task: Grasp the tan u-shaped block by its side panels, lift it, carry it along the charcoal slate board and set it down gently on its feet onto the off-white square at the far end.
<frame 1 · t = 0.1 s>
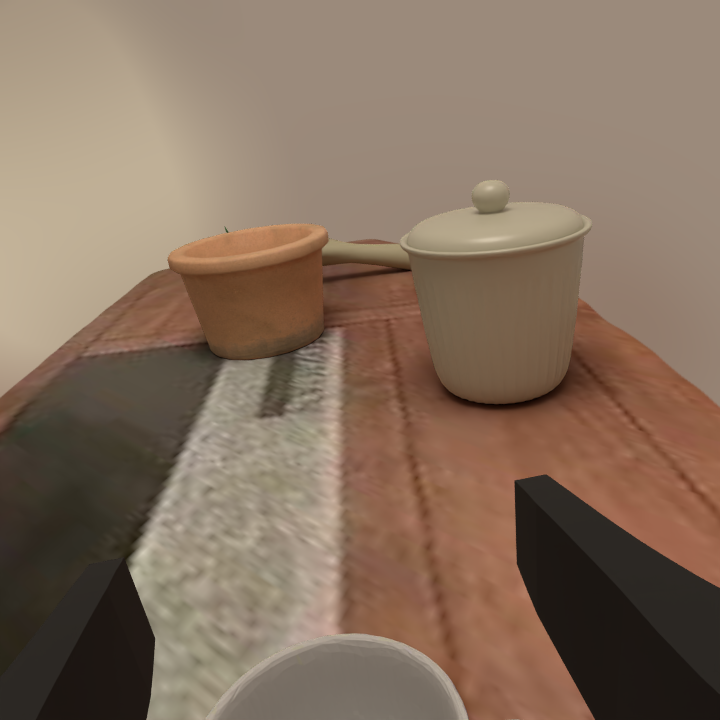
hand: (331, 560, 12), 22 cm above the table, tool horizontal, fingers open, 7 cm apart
pottery: (268, 339, 92), on the table
canister: (502, 385, 67), on the table
flower vase: (322, 284, 117), on the table
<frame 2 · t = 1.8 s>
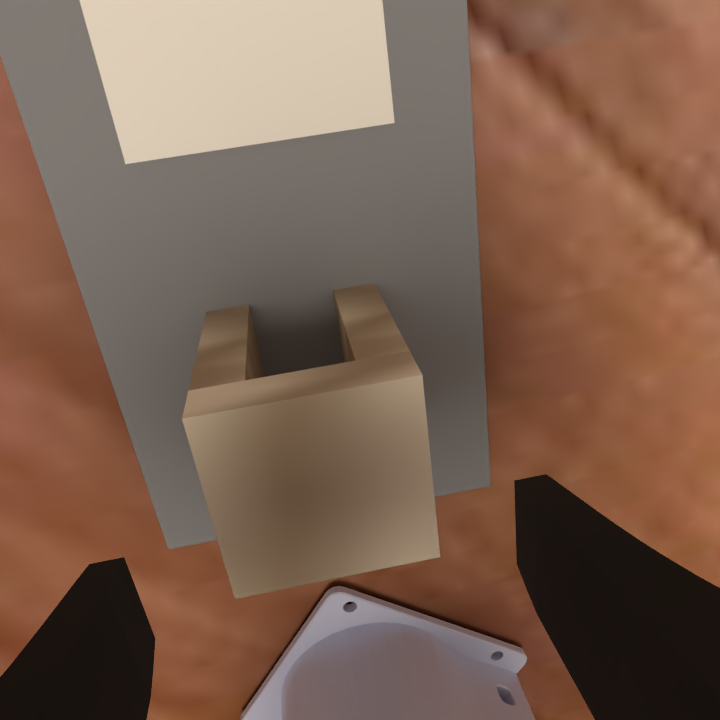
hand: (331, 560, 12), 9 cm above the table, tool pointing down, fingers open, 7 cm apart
board: (276, 216, 18), on the table
tan u-shaped block: (305, 372, 19), point 1 cm above the table, touching board
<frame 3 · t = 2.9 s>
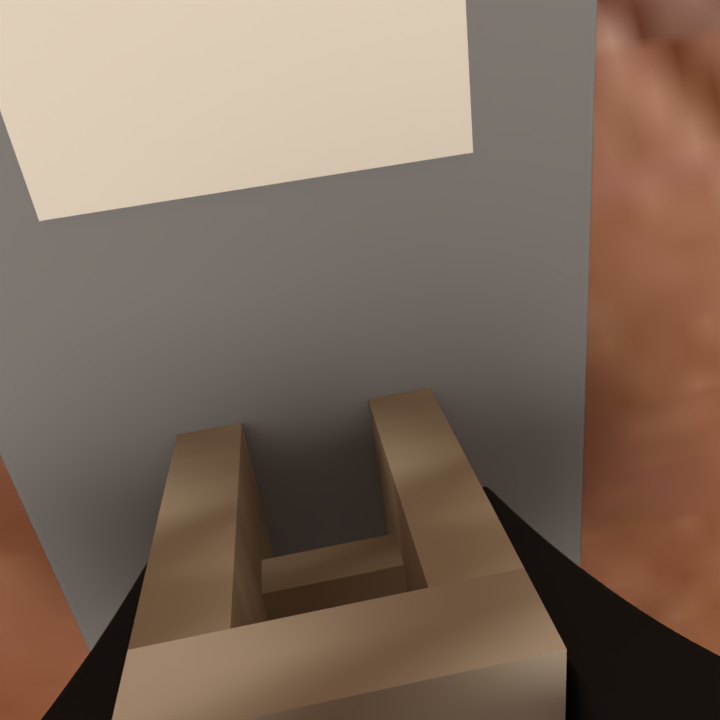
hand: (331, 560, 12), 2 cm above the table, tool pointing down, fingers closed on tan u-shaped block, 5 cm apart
board: (283, 288, 12), on the table
tan u-shaped block: (324, 511, 13), point 1 cm above the table, touching board, gripper
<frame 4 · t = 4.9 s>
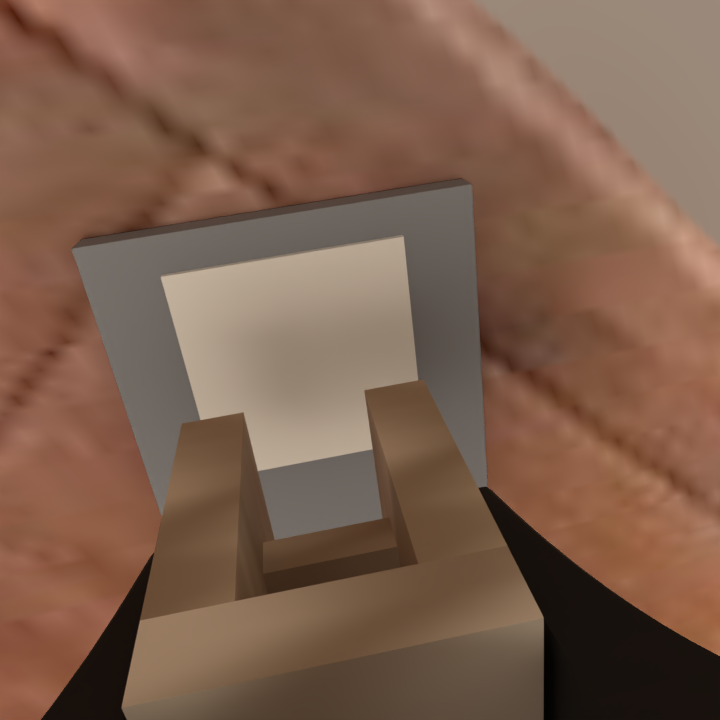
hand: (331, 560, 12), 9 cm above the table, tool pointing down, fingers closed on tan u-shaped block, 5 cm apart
board: (328, 488, 22), on the table
tan u-shaped block: (322, 497, 14), point 7 cm above the table, touching gripper
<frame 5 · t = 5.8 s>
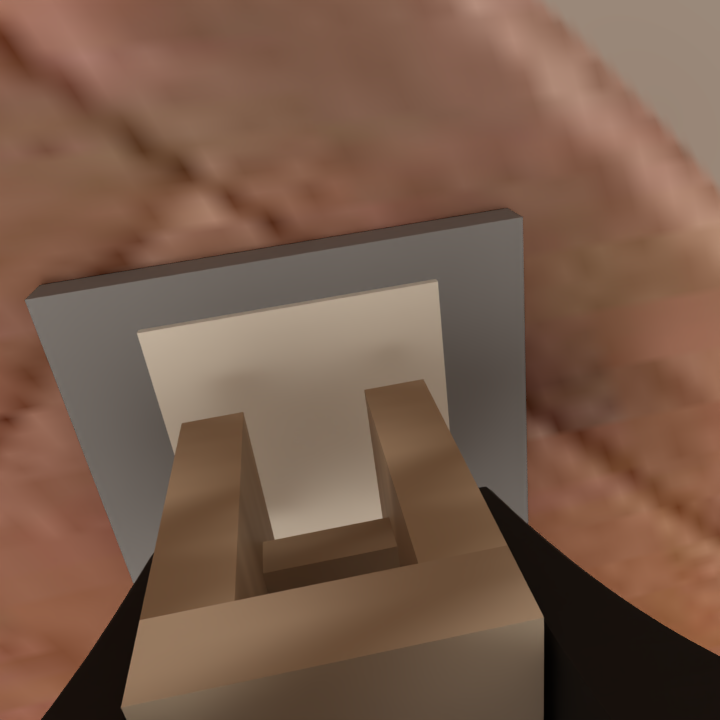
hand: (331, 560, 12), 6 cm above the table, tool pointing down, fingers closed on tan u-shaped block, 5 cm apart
board: (340, 567, 19), on the table
tan u-shaped block: (322, 497, 14), point 4 cm above the table, touching gripper
when the fingers open (4 cm above the table, at t = 6.8 s): tan u-shaped block stays where it is, resting on board.
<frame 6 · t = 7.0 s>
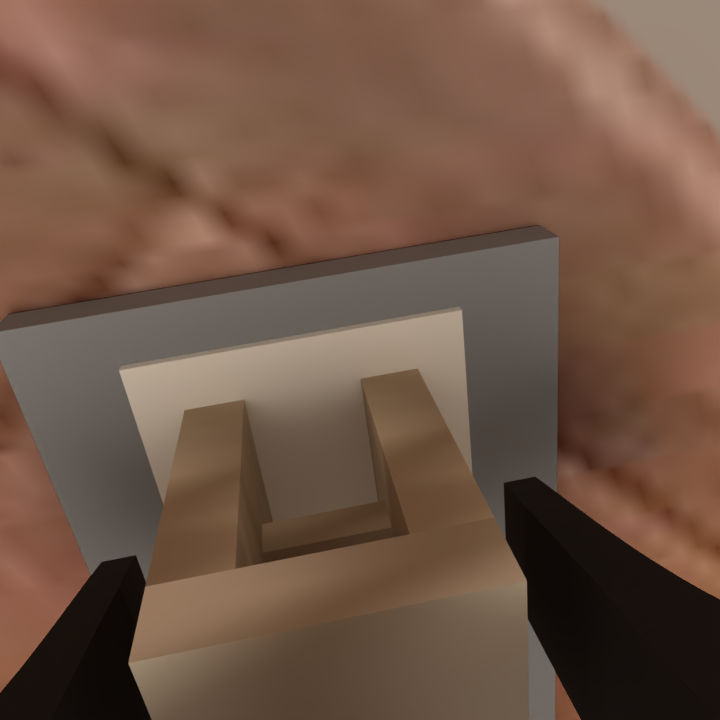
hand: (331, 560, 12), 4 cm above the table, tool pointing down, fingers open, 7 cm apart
board: (348, 616, 17), on the table
tan u-shaped block: (320, 484, 14), point 1 cm above the table, touching board
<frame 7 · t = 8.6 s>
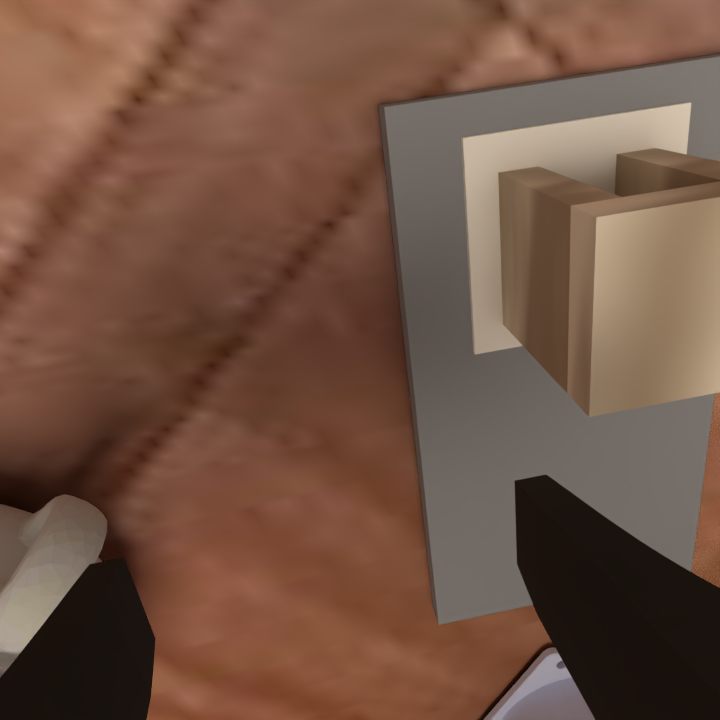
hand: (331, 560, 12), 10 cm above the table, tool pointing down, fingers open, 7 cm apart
board: (558, 376, 23), on the table
tan u-shaped block: (575, 240, 20), point 1 cm above the table, touching board
teacup: (23, 548, 23), on the table
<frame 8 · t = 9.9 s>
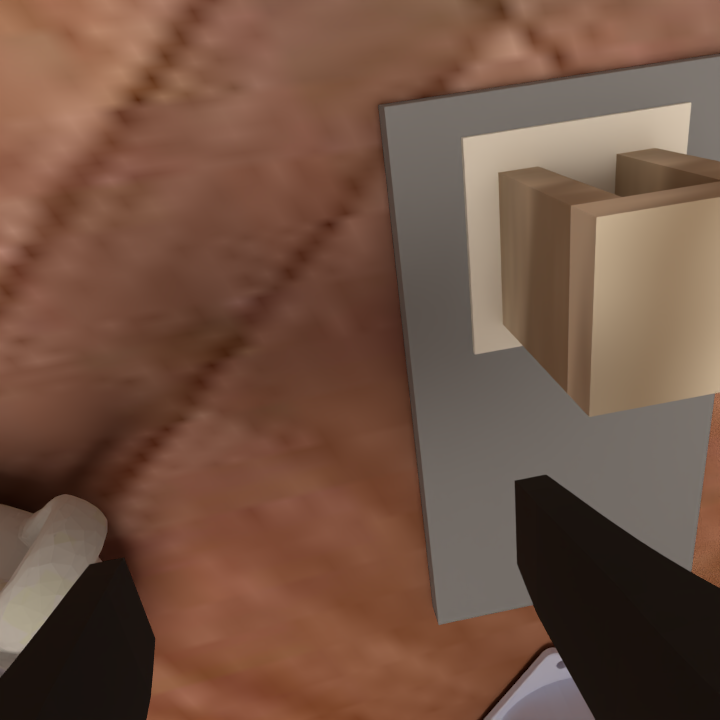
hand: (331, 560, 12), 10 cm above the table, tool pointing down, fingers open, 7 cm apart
board: (558, 376, 23), on the table
tan u-shaped block: (575, 240, 20), point 1 cm above the table, touching board
teacup: (23, 548, 23), on the table
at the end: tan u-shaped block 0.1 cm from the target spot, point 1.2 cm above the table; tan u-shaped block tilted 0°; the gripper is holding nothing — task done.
